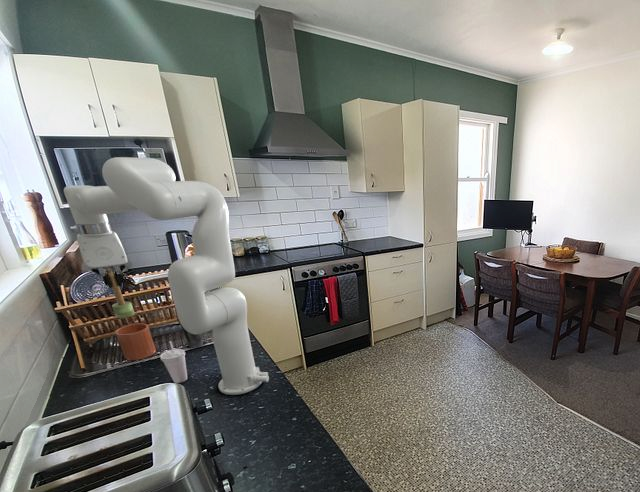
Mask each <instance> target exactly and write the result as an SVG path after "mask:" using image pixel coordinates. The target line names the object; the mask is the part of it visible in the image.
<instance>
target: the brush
mask: <svg viewBox="0 0 640 492" xmlns="http://www.w3.org/2000/svg"><path fill="white" fill-rule="evenodd" d="M114 271H115V269H114V268H107V269H105V273H106V274H107V275H108V277H109V280H110V282H111V285H112V288H111V289H112V291H113V294H114V297H115V300H116V303H113V304H112V305H111V307H112V310H113V313H114V315H115V318H117V319H124V318H125V319H126V318H129V317H130V318H131V317H132V316H135V314H136V312H135V309H134V307H133V303H132V302H131V301H125V298H124V296H123V294H122V290H121V287H120V286H119V285H118V282H117V279H116V277H115V272H114Z"/></svg>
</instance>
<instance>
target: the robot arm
mask: <svg viewBox="0 0 640 492" xmlns="http://www.w3.org/2000/svg"><path fill="white" fill-rule="evenodd" d="M101 170H102V171H101V173H102V178H103V180H104V182H105V184H106V185H97V186H93V185H87V184H86V185H85V184H82V185H80V184H79V185H76V184H75V185H67V186H65V187H63V195H64V196H65V199H66V202H67V205H68V207H69V209H70V210H69V211H70V213H71V216H72V218H73V220H74V223H75V224H74V225H72V226H69V228H70V230H71V232H77V233H78V234H77V235H76V240H77V245H78V249H79V252H80V255H81V258H82V267H81V269H82V271H84V272H90V273H95V274H97V275H98V276H100V277H102V280H103V284H104V285H105V286H108V288H109V289H112V285H111V282H110V280H109V277H108V275H107V272H106V271H105V269H104V268H107V267H113V269H114V273H115V277H116V279H117V282H118V285H119V287H122V286H123V285H122V284H124V280H123V278H122V272H123V271H124V270H125V269H126V268H128V267H130V266H132V265H133V262H132V261H131V260H130V259H129V258H128V256H127V254H126V252H125V248H124V246H123V244H122V242H121V239H120V238H119V235H118V234H117V232H116V231H113V229H112V226H111V224H110V220H109V218H108V215H109V214H117V213H119V214H120V213H130V212H133V211H139V212H141V213H142V214H144V215H146V216H148V217H149V218H151V219H154V220H159V221H168V220H175V219H183V218H188V217H197V220H196V221H195V223H194V224H193V225H194V226H193V229H192V232H191V240H192V244H193V251H194V253H193V255H191V256H186V257H183V258H178V259H177V260H175V261H173V262H172V263H171V264H170V266H169V268H168V271H167V281H168V286H169V289H170V293H171V297H172V300H173V304H174V308H175V313H176V317H177V316H178V319H179V321H180V323H181V325H182V326H183V328H184V329H185V330H186V331H188V332H189V333H191V334H202V335H203V334H206V333H208V332H210V331H212V332H211V333H212V337H211V338H212V343H213V346H214V351H215V355H216V358H217V362H218V366H219V371H220V374H221V379H220V381H219V382H218V385H217V386H218V387H217V388H218V390H219V391H220V392H221V393H222V394H224V395H229V396H236V395H242V394H243V395H244V394H246V393H249V392H252V391H253V390H255V389H257V388H259V386H260V385H261V384H262V383H268V382H269V381H270V376H269V372H268V371H261V370H260V367H259V366H256V363H255V358H254V353H253V347H252V344H251V338H250V333H249V327H248V301H247V299H246V296H245V295H244V294H243V293H242V291H240V290H239V289H237V288H235V287H229V286H228V287H225V286H226V285H228V284H230V283H231V282H233V281H234V280H235V278H236V268H235V267H236V266H235V262H234V255H233V249H232V243H231V239H230V238H231V237H230V211H229V208H228V204H227V202H226V199H225V197H224V195H223V194H222V192H220V190H219V189H218V188H217V187H215V186H213V185H212V184H210V183H207V182H204V181H199V180H177V181H176V179H177V178H176V173H175V171H174V169H173V168H172V167H171V166H170V165H169V164H168V163H166V162H164V161H163V160H161V159H157V158H152V157H132V156H131V157H128V156H118V157H117V156H115V157H111V158H109V159H107V160H106V161H105V162H104V163H103V165H102V169H101ZM181 325H180V326H181Z"/></svg>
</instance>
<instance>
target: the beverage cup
mask: <svg viewBox="0 0 640 492" xmlns="http://www.w3.org/2000/svg"><path fill="white" fill-rule="evenodd" d="M176 321H177V322H178V324H179V326H180V328H181V330H182V332H183V335H184V338H185V340H186V342H187V344H188V347H189V348H198V347H201V346H203V345H204V338H203V334H191V333H189V332H188V331H186V330H185V329H184V328H183V326H182V325H181V323H180V321H179V319H178V316H177V315H176Z"/></svg>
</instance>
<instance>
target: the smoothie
mask: <svg viewBox="0 0 640 492" xmlns="http://www.w3.org/2000/svg"><path fill="white" fill-rule="evenodd" d="M168 343H169V346H170V349H169V350H166V351H164V352H162V353H161V354H160V356H159V358H160V361H162V362H163V364H164V366H165V369H166V370H167V372H168V374H169V375H170V377H171V379H172V382H173V383H174V384H180V383H184V382H186V381H187V380H188V372H187V371H188V370H187V363H186V357H185V356H186V352H185V351H186V350H184V349H183V348H174V346H173V343H172V341H171V340H169V341H168Z"/></svg>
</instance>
